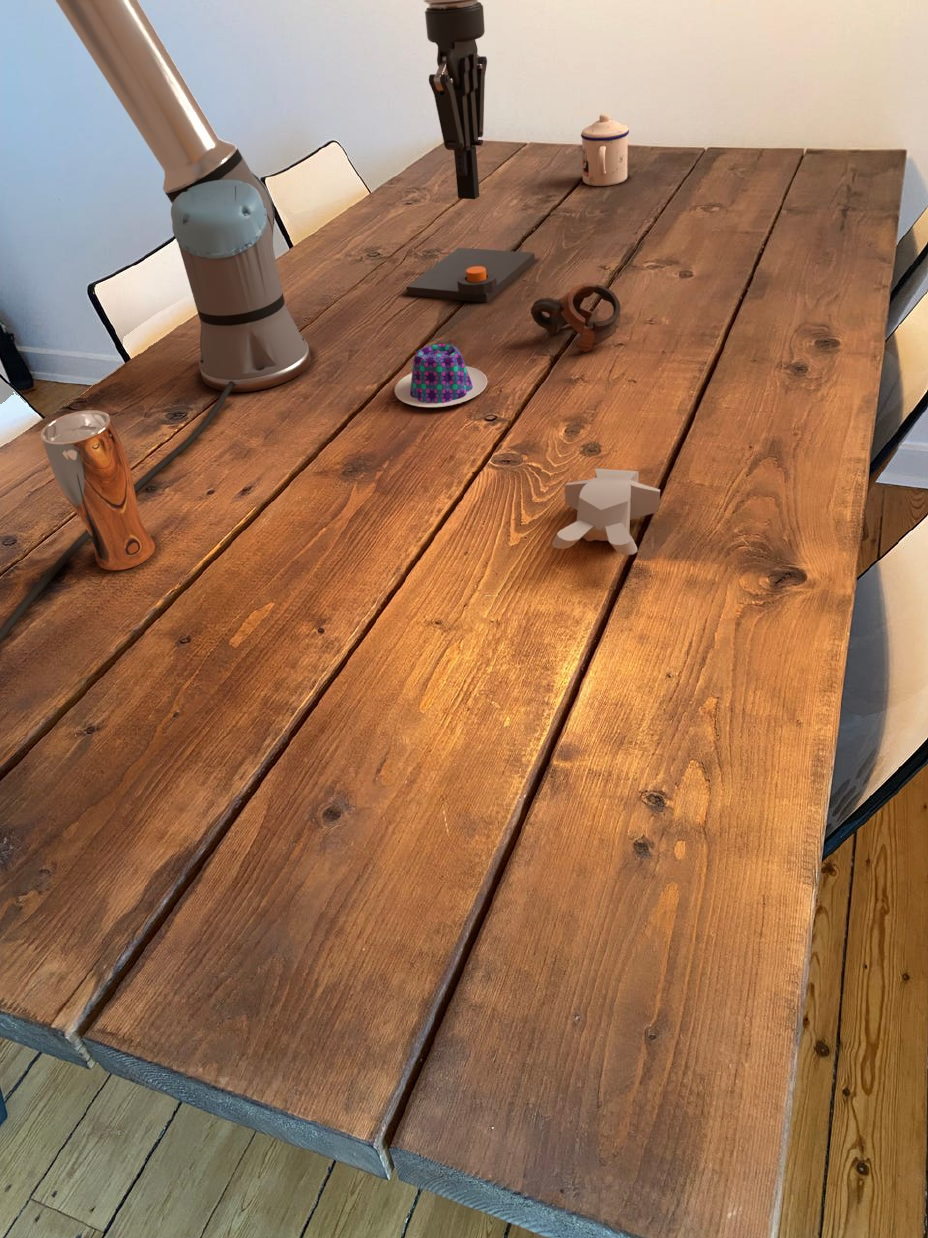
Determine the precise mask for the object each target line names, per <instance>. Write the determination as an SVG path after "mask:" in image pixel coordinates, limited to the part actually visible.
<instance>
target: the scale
mask: <svg viewBox="0 0 928 1238" xmlns="http://www.w3.org/2000/svg"><path fill="white" fill-rule="evenodd" d="M535 260H536V257H535V252H529V251H515V250H501V249H485V248H473V247H472V248H471V247H457V248H456V249H455V250H453V251H452V252H451V253H449V254H448V255H447V256H446V257H444V258H443V259H441V260H440V261H438V262H437V263H436V264H434V265H433V266H432V267H430V268H429V269H428V270H427V271H425V272H424V273H422V274H421V275H420V276H418V277H417V278H416V279H415V280H413V281H412V282H411V283H409V284H408V285H407V286H406V294H407V296H412V297H413V296H414V297H423V298H435V299H445V300H457V301H465V302H477V303H485V304H486V303H488V302H490V301H491V300H492V299H493V298H495V297H496V296H497V295H498V294H499V293H500V292H501V291H502V290H504V288H506V287H507V286H509V284H510V283H512V282H513V281H514V280H515V279H516V278H517V277H518V276H519V275H520V274H521V273H523V272H524V271H525V270H526V269H527V268H529V267H530V266H531V265H532V264H533V263H534V262H535ZM475 266H482V267H485V268H486V278H487V279H486V280H483V281H479V282H468V281H467V276H466V270H467V269H468V268H470V267H475Z"/></svg>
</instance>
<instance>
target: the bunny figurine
mask: <svg viewBox="0 0 928 1238" xmlns="http://www.w3.org/2000/svg"><path fill="white" fill-rule="evenodd" d="M594 471H595V472H594V473H595V474H594V475H595V476H594V477H593V478H592V477H591V478H589V479H584V480H577V481H569V482H567V483H565V485H564V505H566V506H567V507H570V508H572V509H573V510H576V511H577V513H576V520H575V521H574V522H572V523H571V524H569V525H567V526H565V527H564V528H561V529H560V530H558V532H556V535H555V537H554V539H553V541H552V543H551V545H552V547H553V548H555V549H559V550H564V549H568V548H571V547H572V546H574V545H575V544H576V543H578V541H579V540H580V539H585V541H587V542H594V541H601V542H602V541H603V542H605V541H606V542H608V543H609V544H610V545H611V546H612V547H613V549H614V550H615V552H616V553H618V554H620V555H625V556H629V555H635V554H637V553H638V547H637V544H636V543H635V540H634V538H633V537H632V535H631V533H630V529H631V527H630V526H631V525H630V524H631V520H633V519H637V518H640V517H644V516H648V515H652V514H656V513H659V512H660V498H661V489H659V488H656V487H653V486H650V485H647V484H643V483H641V482H639V475H640V473H639V471H638V470H627V469H626V470H624V469H611V468H595V469H594Z"/></svg>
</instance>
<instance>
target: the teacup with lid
mask: <svg viewBox="0 0 928 1238" xmlns="http://www.w3.org/2000/svg"><path fill="white" fill-rule="evenodd" d="M598 119H599V120H596V121H594V122H593V123H591V125H588V126H587V127H584V128H583V129H582V130H581V133H580V137H581V145H582V149H581V150H582V182H583V183H584V184H586V185H587V186H593V187H608V186H615V185H618V184H621V183H624V182H625V181H626V180H627V179H628V151H629V150H628V143H629V142H628V141H629V140H628V139H629V137H628V136H629V133H630V130H629V128H628V126H627V125H626V124H623V123H620V122H618V121H616V120H615V119H611V115H610V113H602V114H600V115H599V118H598Z"/></svg>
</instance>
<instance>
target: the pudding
mask: <svg viewBox="0 0 928 1238" xmlns="http://www.w3.org/2000/svg"><path fill="white" fill-rule="evenodd" d="M411 371H412V372H410V373H408V374H406V375H405V376H404V377H402V378H401V379H400V380H398V382H397V383H396V385H395V387H394V394H395V396H396V399H398V400H399V401H400V402H403V403H405V404H407V405H411V406H415V407H420V408H442V407H448V406H453V405H457V404H462V403H463V402H467V401H469V400H471V399H473V398H475V397H477V396H478V395H480V394H481V393H483V391H484V390H485V389H486V387H487V385H488V378H487V375H486V374H485V373H484V372H483V371H481V370H479V369H478V368H475V367H471V366H468V365H466V364H465V360H464V358H463V355H462V353H461V352H460V350H459V348H458V347H456V346H455V345H452V344H447V343H437V344H429V345H426V346H425V347H424V348H420V349H419V350H417V351H416V352H415V355H414V357H413V362H412V369H411Z"/></svg>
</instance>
